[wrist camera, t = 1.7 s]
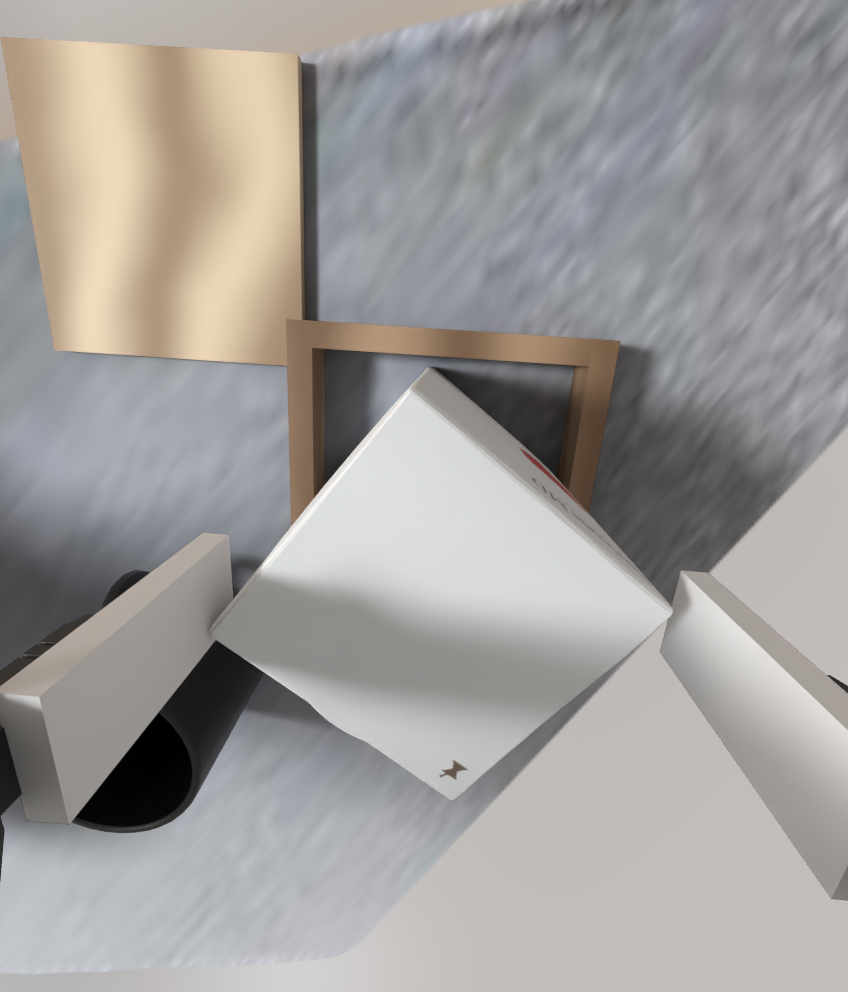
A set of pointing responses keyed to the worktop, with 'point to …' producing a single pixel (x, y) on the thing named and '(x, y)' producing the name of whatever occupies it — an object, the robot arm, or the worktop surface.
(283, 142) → the light wooden block
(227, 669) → the mug
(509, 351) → the walnut frame
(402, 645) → the supplement box
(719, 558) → the worktop surface
